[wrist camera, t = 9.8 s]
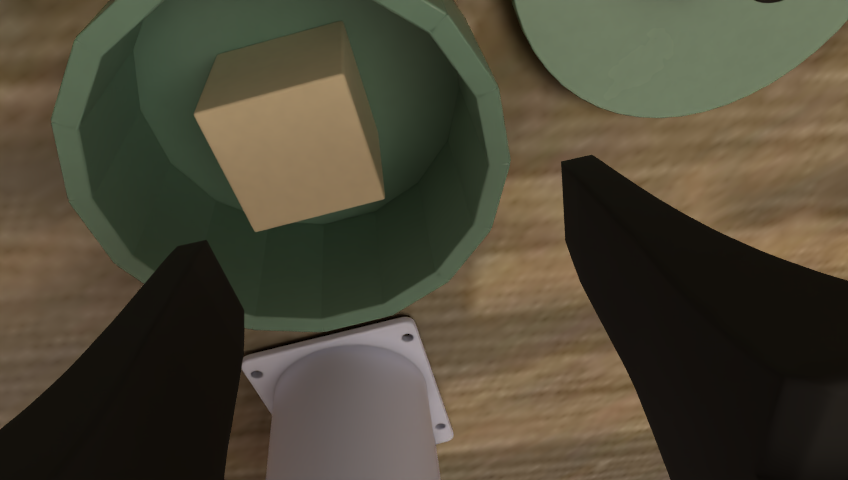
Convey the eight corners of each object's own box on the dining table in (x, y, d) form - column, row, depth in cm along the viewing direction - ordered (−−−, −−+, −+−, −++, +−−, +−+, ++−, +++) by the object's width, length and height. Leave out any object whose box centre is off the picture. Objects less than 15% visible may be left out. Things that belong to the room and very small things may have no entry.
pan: (495, 185, 23) (530, 282, 19) (215, 256, 24) (189, 366, 20) (431, -152, 16) (465, -118, 12) (39, -40, 17) (-60, 30, 13)
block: (378, 133, 21) (386, 200, 18) (266, 162, 21) (254, 233, 18) (342, 19, 18) (343, 72, 15) (215, 54, 19) (191, 114, 16)
